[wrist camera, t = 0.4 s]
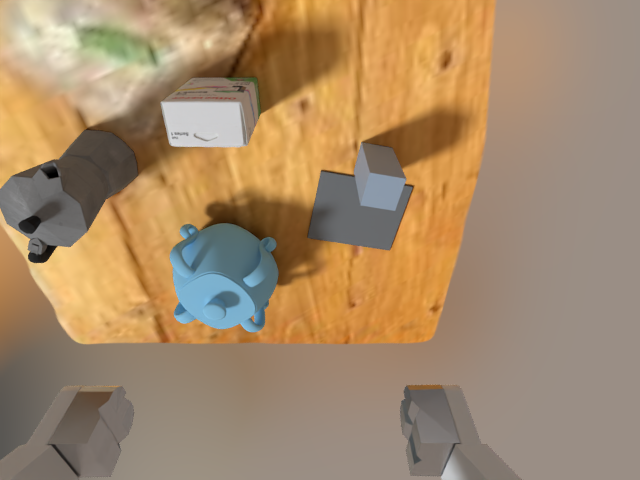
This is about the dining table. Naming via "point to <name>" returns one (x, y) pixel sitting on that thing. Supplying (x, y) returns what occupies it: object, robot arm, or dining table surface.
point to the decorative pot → (223, 276)
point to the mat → (352, 214)
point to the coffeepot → (67, 192)
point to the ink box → (212, 112)
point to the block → (378, 177)
